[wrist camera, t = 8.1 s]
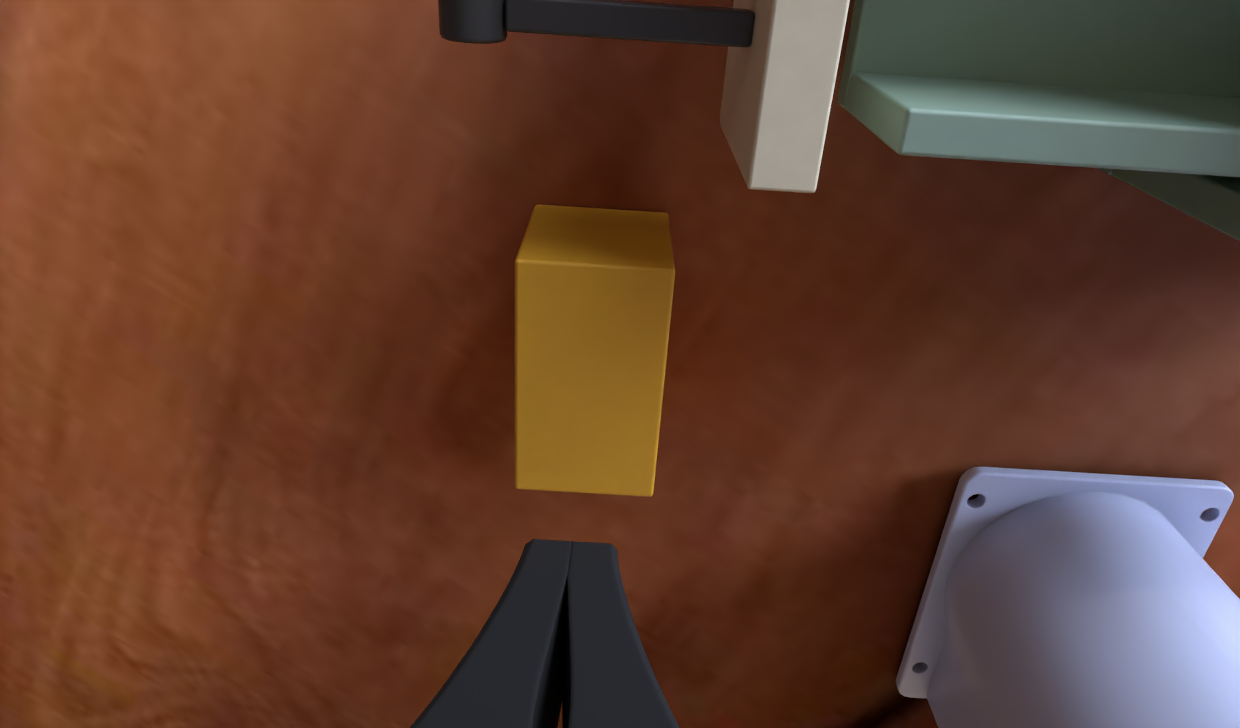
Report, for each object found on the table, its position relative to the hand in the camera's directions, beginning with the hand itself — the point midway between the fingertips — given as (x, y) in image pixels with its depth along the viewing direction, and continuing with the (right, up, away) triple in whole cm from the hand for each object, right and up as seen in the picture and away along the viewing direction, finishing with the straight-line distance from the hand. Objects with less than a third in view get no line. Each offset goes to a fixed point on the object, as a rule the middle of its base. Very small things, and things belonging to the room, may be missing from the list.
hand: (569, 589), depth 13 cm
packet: (0, +5, +9) cm, 10 cm away
